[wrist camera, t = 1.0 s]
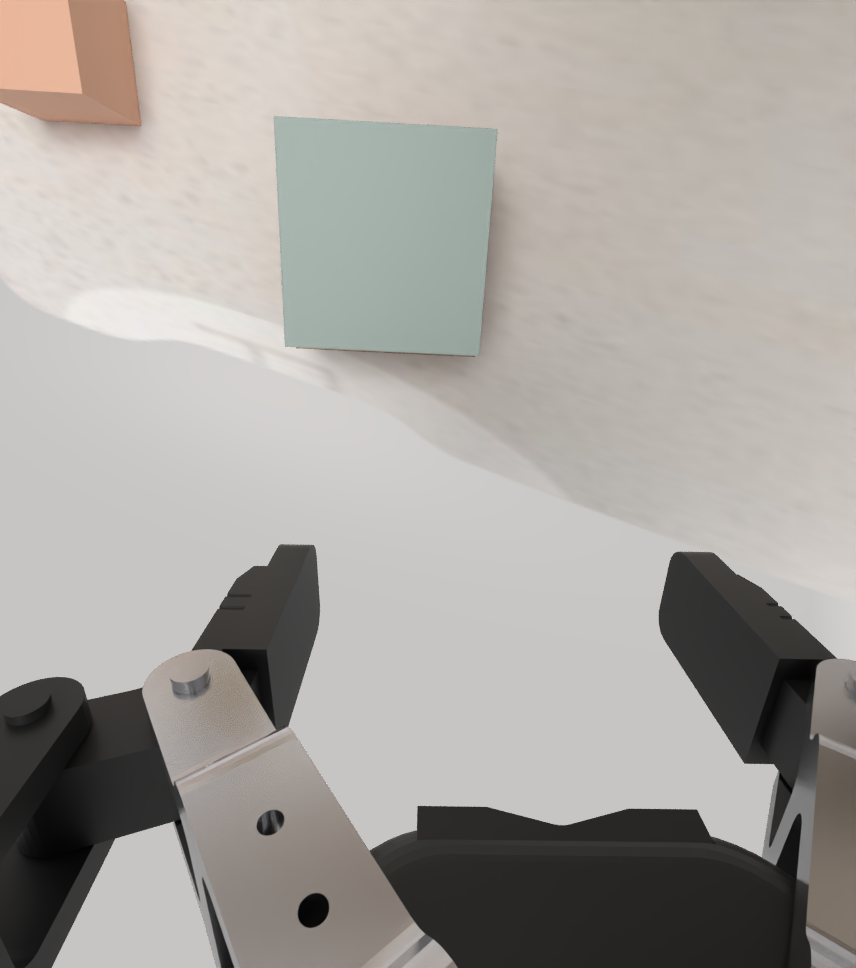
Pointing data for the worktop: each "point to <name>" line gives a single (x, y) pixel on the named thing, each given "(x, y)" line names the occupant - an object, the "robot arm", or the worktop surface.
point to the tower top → (383, 234)
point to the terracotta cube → (68, 61)
